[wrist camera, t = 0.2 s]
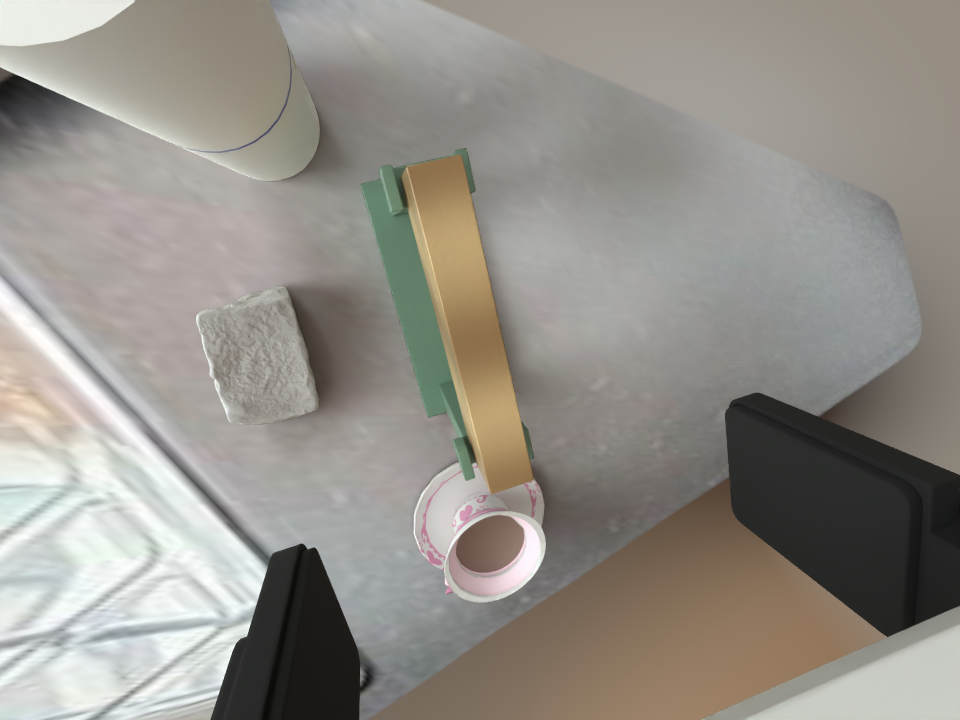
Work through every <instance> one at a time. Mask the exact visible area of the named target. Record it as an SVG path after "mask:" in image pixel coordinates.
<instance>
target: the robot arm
mask: <svg viewBox="0 0 960 720" xmlns="http://www.w3.org/2000/svg"><path fill="white" fill-rule="evenodd" d="M725 422H726V436H727V450H728V463H729V477H730V491H731V505H732V510H733V512H734V515H735V516H736V518H737V519H738V520H739V521H740V522H741V523H742V524H743V525H744V526H745V527H747V528H748V529H749V530H751V531H752V532H753V533H754V534H756V535H757V536H758V537H759V538H761V539H762V540H763V541H765V542H766V543H767V544H768V545H770V546H771V547H772V548H774V549H775V550H776V551H777V552H779V553H780V554H781V555H783V556H784V557H785V558H786V559H788V560H789V561H790V562H791V563H793V564H794V565H795V566H797V567H798V568H799V569H800V570H802V571H803V572H804V573H806V574H807V575H808V576H809V577H811V578H812V579H813V580H815V581H816V582H817V583H818V584H820V585H821V586H822V587H823V588H825V589H826V590H827V591H829V592H830V593H831V594H833V595H834V596H835V597H836V598H838V599H839V600H840V601H842V602H843V603H844V604H845V605H847V606H848V607H849V608H850V609H852V610H853V611H854V612H855V613H857V614H858V615H859V616H861V617H862V618H863V619H864V620H866V621H867V622H868V623H870V624H871V625H872V626H873V627H875V628H876V629H877V630H879V631H880V632H881V633H883V634H884V635H886V636H887V638H885V639H882V640H880V641H878V642H875V643H873V644H871V645H869V646H866V647H864V648H862V649H859V650H857V651H855V652H853V653H850V654H848V655H846V656H843V657H841V658H839V659H836V660H834V661H832V662H830V663H827V664H825V665H823V666H820V667H818V668H816V669H814V670H812V671H809V672H807V673H805V674H802V675H800V676H798V677H796V678H793V679H791V680H789V681H787V682H784V683H782V684H780V685H778V686H775V687H773V688H771V689H768V690H766V691H764V692H762V693H759V694H757V695H755V696H753V697H750V698H748V699H746V700H744V701H742V702H739V703H737V704H735V705H733V706H730V707H728V708H726V709H723V710H721V711H719V712H717V713H714V714H712V715H710V716H708V717H706V718H703V719H701V720H960V475H958V474H956V473H954V472H951V471H949V470H946V469H944V468H941V467H939V466H936V465H934V464H932V463H929V462H927V461H924V460H922V459H919V458H917V457H915V456H912V455H909V454H907V453H905V452H902V451H900V450H898V449H895V448H893V447H890V446H888V445H885V444H883V443H881V442H878V441H875V440H873V439H871V438H868V437H866V436H864V435H861V434H859V433H856V432H854V431H851V430H849V429H846V428H844V427H841V426H839V425H837V424H834V423H832V422H829V421H827V420H824V419H822V418H820V417H817V416H815V415H812V414H810V413H808V412H805V411H803V410H800V409H798V408H795V407H793V406H791V405H788V404H786V403H783V402H781V401H778V400H776V399H774V398H771V397H769V396H766V395H764V394H761V393H753V394H750V395H747V396H744V397H741V398H738V399H735V400H733V401H732V402H731V403H730V405H729V408H728V409H727V410H726V412H725ZM359 701H360V660H359V654H358V650H357V647H356V644H355V641H354V639H353V637H352V634H351V632H350V629H349V627H348V624H347V622H346V619H345V617H344V614H343V612H342V609H341V607H340V605H339V602H338V600H337V597H336V595H335V592H334V590H333V587H332V585H331V582H330V580H329V577H328V575H327V573H326V570H325V568H324V565H323V563H322V560H321V558H320V555H319V553H318V551H317V549H316V548H311V549H308V550H307V548H306V546H305V545H304V544H299V545H296V546H293V547H290V548H287V549H284V550H281V551H278V552H275V553H273V554H272V556H271V559H270V562H269V565H268V569H267V572H266V575H265V579H264V582H263V585H262V589H261V592H260V595H259V599H258V602H257V605H256V609H255V612H254V615H253V619H252V622H251V625H250V629H249V632H248V635H247V637H244V638H242V639H240V640H239V641H238V642H237V643H236V645H235V647H234V650H233V652H232V655H231V658H230V661H229V664H228V667H227V671H226V674H225V677H224V680H223V683H222V686H221V689H220V692H219V695H218V698H217V701H216V705H215V708H214V711H213V714H212V717H211V720H359Z"/></svg>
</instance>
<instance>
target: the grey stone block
mask: <svg viewBox="0 0 960 720" xmlns="http://www.w3.org/2000/svg"><path fill="white" fill-rule="evenodd" d="M196 323H197V326H198V328H199V329H200V335H201V336H202V343H203V348H204V351H205V354H206V357H207V359H208V362H209V365H210V376H211V377H212V378H214V379H215V387H216V390H217V392H218V394H219V397H220V399H221V402H222V404H223V406H224V409H225V412H226V414H227V418H228V420H229V421H230V422H231V423H238V424H243V425H261V424H267V423H272V422H277V421H282V420H286V419H290V418H294V417H297V416H301V415H304V414H309V413H311V412H313V411H315V410H317V409H318V407H319V397H318V393H317V391H316V389H315V379H314V374H313V371H312V369H311V367H310V364H309V354H308V351H307V348H306V345H305V342H304V338H303V336H302V334H301V331H300V328H299V323H298V320H297V317H296V314H295V310H294V308H293V305H292V301H291V298H290V295H289V292H288V289H287V288H286V287H282V286H277V287H273V288H270V289H268V290H265V291H261V292H257V293H253V294H249V295H246V296H244V297H241V298H239V299H238V300H237V301H235V302H233V303H231V304H229V305H226V306H224V307H222V308H217V309H208V310H204V311H202V312H200V313H199V314H198V315H197V318H196Z"/></svg>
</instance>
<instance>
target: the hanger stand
mask: <svg viewBox="0 0 960 720" xmlns="http://www.w3.org/2000/svg"><path fill="white" fill-rule="evenodd" d="M460 154H461V155H462V157H463V161H464V166H465V170H466V175H467V179H468V184H469V188H470V193H473V192H475V191H476V189H475V184H474V180H473V175H472V171H471V166H470V162H469V157H468V152H467V149H466V148H464V149H459V150H456V151H454V152H453V153H452V154H451V155H450V157H451V156H455V155H460ZM447 157H449V156H445V157H441V158H436V159H432V160H427V161H423V162H418V163H414V164H409V165H405V166H400V167H396V168H393V166H392V165H387V166H383V167H380V169H379V174H380V178H381V179H380V180H376V181H371V182H367V183H363V184H361V188H362V191H363V195H364V198H365V202H366V205H367V209H368V212H369V216H370V219H371V223H372V226H373V229H374V233H375V236H376V240H377V243H378V247H379V250H380V254H381V257H382V261H383V264H384V267H385V271H386V274H387V278H388V281H389V285H390V288H391V292H392V295H393V299H394V302H395V305H396V309H397V312H398V316H399V319H400V323H401V326H402V330H403V333H404V337H405V340H406V343H407V347H408V350H409V354H410V357H411V361H412V364H413V368H414V371H415V375H416V378H417V381H418V385H419V388H420V392H421V395H422V399H423V402H424V406H425V409H426V413H427V416H428V418H429V417H433V416H436V415H439V414H442V413H446V412H447V413H448V415H449V418H450V420H451V422H452V424H453V427H454V429H455V431H456V434H457V436H458V438H457V439H454V440H453V443H454V446H455V450H456V453H457V457H458V461H459V464H460V468H461V471H462V473H463V476H464V478H465V480H466V481H468V480H471V479H474V478H475V474H474V470H473V466H472V464H474V463H476V462H475V460H474V457H473V455H472V451H471V447H470V443H469V439H468V436H467V432H466V428H465V424H464V420H463V417H462V413H461V409H460V405H459V402H458V398H457V394H456V390H455V386H454V383H453V379H452V375H451V371H450V367H449V364H448V360H447V356H446V352H445V349H444V345H443V341H442V337H441V333H440V330H439V326H438V322H437V318H436V314H435V311H434V307H433V303H432V299H431V295H430V292H429V288H428V284H427V280H426V277H425V273H424V269H423V265H422V261H421V258H420V254H419V250H418V246H417V242H416V239H415V235H414V231H413V227H412V224H411V220H410V216H409V212H408V208H407V205H406V201H405V197H404V193H403V189H402V186H401V182H400V177H401V175H402V174H403V172H404V170H405V169H406V167H407V166H411V165H415V164H420V163H424V162H429V161H433V160H438V159H442V158H447ZM521 423H522V427H523V432H524V436H525V441H526V445H527V450H528V454H529V459H530V460H531V459H534V455H533V450H532V445H531V441H530V436H529V432H528V429H527V427H526V426H525V425H524V424H523V422H522V421H521Z"/></svg>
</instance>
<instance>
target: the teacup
mask: <svg viewBox="0 0 960 720" xmlns="http://www.w3.org/2000/svg"><path fill="white" fill-rule="evenodd" d="M472 466H473V470H474V474H475V478H474V479H471V480H468V481H466V480H465V478H464V476H463V473H462V471H461V468H460V464H459V462H457V463H454V464H452V465H451V466H450V467H448V468H447V469H445V470H444V471H442V472H441V473H439V474H438V475H436V476H435V477H434V478H433V480H432V481H431V482H430V483H429V485H428V486H427V487H426V488H425V489H424V491H423V492H422V493H421V496H420V498H419V501H418V503H417V506H416V508H415V511H414V525H413V533H414V536H415V539H416V542H417V545H418V547H419V550H420V552H421V553H422V554H423V555H424V556H425V557H426V559H427V560H428V561H429V562H430V563H431V564H432V565H434V566H436V567H437V568H439V569H441V570H443V571H444V572H445V585H446V586H449V587H448V588H447V590H446V594H449V593H452V592H454V593H455V594H456V595H457V596H459V597H461V598H462V599H465V600H467V601H471V602H491V601H495V600H499V599H502V598H504V597H506V596H509V595H510V594H512V593H514V592H516V591H517V590H519V589H520V588H521V587H523V586H524V585H525V584H526V583H527V582H528V581H529V580H530V579H531V578H532V577H533V576H534V574H535V573H536V572H537V570H538V568H539V567H540V565H541V563H542V560H543V558H544V554H545V548H546V541H545V535H544V532H543V530H542V528H541V526H542V524H543V517H544V508H545V504H544V500H543V495H542V491H541V488H540V486H539V485H538V483H537V482H536V480H535V479H534V480H533V481H530V482H527V483H524V484H521V485H518V486H515V487H512V488H509V489H506V490H503V491H501V492H498V493H495V494H490V492H489V490H488V488H487V485H486V483H485V481H484V479H483V477H482V475H481V472H480V470H479V468H478V466H477V464H476V463H474V464H472Z"/></svg>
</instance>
